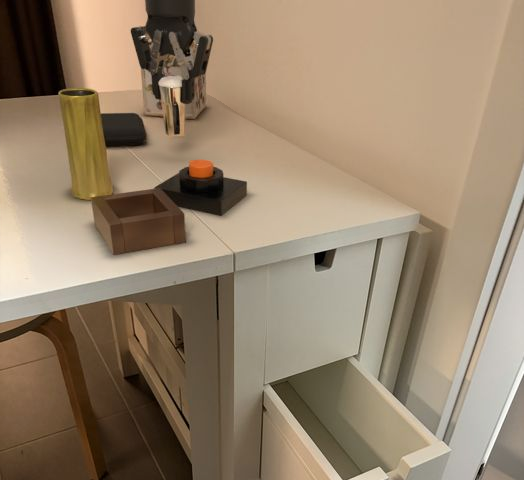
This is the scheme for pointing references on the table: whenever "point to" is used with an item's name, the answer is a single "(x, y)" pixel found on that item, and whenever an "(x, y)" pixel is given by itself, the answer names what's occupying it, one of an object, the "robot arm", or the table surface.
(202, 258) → the table surface
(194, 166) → the button
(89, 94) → the vase
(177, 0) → the robot arm
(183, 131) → the milkshake
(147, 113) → the decorative jar
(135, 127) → the carrying case
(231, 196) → the confirm box
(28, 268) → the table surface
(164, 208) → the socket
